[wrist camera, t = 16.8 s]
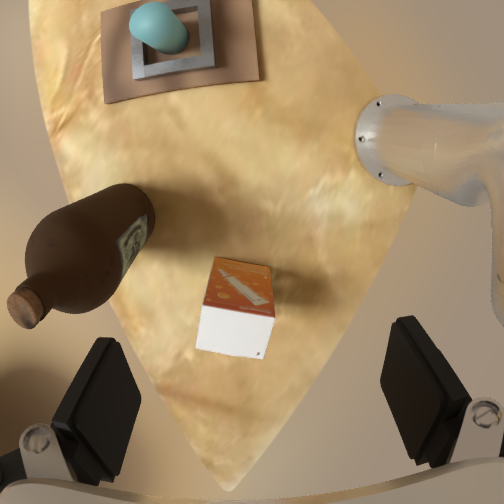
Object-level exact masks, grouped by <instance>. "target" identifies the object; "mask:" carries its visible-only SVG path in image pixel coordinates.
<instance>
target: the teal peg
mask: <svg viewBox="0 0 504 504" xmlns="http://www.w3.org/2000/svg"><path fill="white" fill-rule="evenodd" d="M129 29H130V32H131V33H132V35H133V36H134V37H136V38H137V39H139V40H141V41H142V42H144V43H146V44H148V45H149V46H151V47H153V48H154V49H156V50H158V51H159V52H161V53H163V54H166V55H174V54H177V53H179V52H181V51H182V50H183V49H185V47H186V46H187V45H188V43H189V39H190V34H189V31H188V29H187V28H186V27H185V26H184V25H183V23H182V22H181V21H180V20H179V19H178V18H177V16H176V15H175V14H174V13H173V12H172V11H171V10H170V8H169V7H168V6H167V5H165V4H164V3H161V2H149V3H146V4H144V5H142V6H140V7H139V8H138V9H136V10H135V12H134V13H133V14H132V16H131V18H130V22H129Z"/></svg>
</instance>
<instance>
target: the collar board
mask: <svg viewBox="0 0 504 504" xmlns="http://www.w3.org/2000/svg"><path fill="white" fill-rule="evenodd" d="M149 2H161V3H164V4H165V5H167V6H168V7H169V8H170V10H171V11H172V12H173V13H174V14H175V15H176V16H177V18H178V19H179V20H180V21H181V22H182V23H183V25H184V26H185V27H186V28H187V29H188V31H189V34H190V39H189V43H188V45H187V46H186V47H185V49H183V50H182V51H181V52H179V53H177V54H174V55H166V54H163V53H161V52H159V51H158V50H156V49H154V48H153V47H151V46H149V45H148V44H146V43H144V42H142V41H141V40H139V39H137V38H136V37H134V36H133V35H132V33H131V32H130V29H129V22H130V18H131V16H132V14H133V13H134V12H135V10H136V9H138V8H139V7H140V6H142V5H144V4H146V3H149ZM101 56H102V76H103V90H104V102H105V104H112V103H116V102H120V101H124V100H129V99H133V98H138V97H143V96H148V95H153V94H158V93H164V92H169V91H175V90H182V89H188V88H195V87H202V86H210V85H219V84H228V83H239V82H251V81H259V72H258V61H257V50H256V39H255V29H254V18H253V8H252V0H141V1H137V2H133V3H129V4H126V5H122V6H119V7H115V8H112V9H109V10H106V11H103V12H101Z"/></svg>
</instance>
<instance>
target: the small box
mask: <svg viewBox="0 0 504 504" xmlns="http://www.w3.org/2000/svg"><path fill="white" fill-rule="evenodd" d="M274 321H275V308H274V298H273V289H272V280H271V272H270V267H269V266H261V265H255V264H249V263H243V262H238V261H233V260H228V259H223V258H218V257H215V258H214V261H213V264H212V268H211V272H210V276H209V279H208V284H207V287H206V291H205V295H204V299H203V304H202V309H201V315H200V321H199V327H198V334H197V340H196V348H197V349H201V350H206V351H211V352H217V353H222V354H226V355H231V356H241V357H249V358H256V359H264V356H265V352H266V349H267V345H268V342H269V338H270V335H271V331H272V328H273V324H274Z"/></svg>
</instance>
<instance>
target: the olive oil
mask: <svg viewBox="0 0 504 504" xmlns="http://www.w3.org/2000/svg"><path fill="white" fill-rule="evenodd" d="M154 223H155V214H154V209H153V206H152V204H151V202H150V200H149V199H148V197H147V196H146V195H145V194H144V193H143V192H142V191H141V190H140V189H138V188H136V187H134V186H132V185H128V184H116V185H113V186H110V187H108V188H106V189H104V190H101V191H99V192H97V193H95V194H93V195H90V196H88V197H86V198H83V199H81V200H79V201H77V202H74V203H72V204H70V205H67V206H65V207H63V208H60V209H58V210H56V211H54V212H52V213H50V214H49V215H47V216H46V217H45V218H44V219H42V220H41V221H40V223H39V224H38V225H37V226H36V228H35V229H34V231H33V232H32V234H31V236H30V238H29V240H28V243H27V247H26V252H25V267H26V273H27V277H28V278H27V279H26V280H25V281H24V282H22V283H21V284H20V285H19V286H18V287H17V288H16V290H15V292H13V293H12V294H11V295H10V296H9V297H8V300H7V308H8V311H9V313H10V315H11V317H12V318H13V320H14V321H15V322H16V323H17V324H18V325H20V326H21V327H23V328H26V329H32V328H34V327H35V326H36V325H37V324H38V323H39V321H41V320H43V319H44V318H45V316H46V315H47V314H48V313H49V312H50V310H51V309H52V308H53V309H56V310H58V311H61V312H65V313H70V314H80V313H85V312H89V311H91V310H93V309H95V308H97V307H99V306H101V305H102V304H103V303H105V302H106V301H107V300H108V299H109V298H110V297H111V296H112V295H113V294H114V292H115V291H116V289H117V288H118V286H119V284H120V282H121V281H122V279H123V277H124V276H125V274H126V272H127V270H128V269H129V267H130V266H131V264H132V262H133V261H134V259H135V258H136V256H137V254H138V253H139V251H140V250H141V248H142V247H143V245H144V244H145V242H146V241H147V240H148V238H149V237H150V235H151V233H152V231H153V228H154Z"/></svg>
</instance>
